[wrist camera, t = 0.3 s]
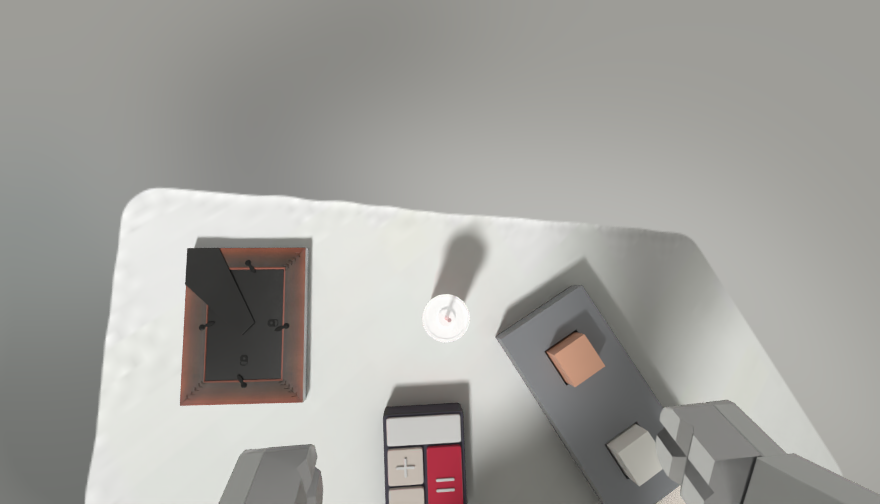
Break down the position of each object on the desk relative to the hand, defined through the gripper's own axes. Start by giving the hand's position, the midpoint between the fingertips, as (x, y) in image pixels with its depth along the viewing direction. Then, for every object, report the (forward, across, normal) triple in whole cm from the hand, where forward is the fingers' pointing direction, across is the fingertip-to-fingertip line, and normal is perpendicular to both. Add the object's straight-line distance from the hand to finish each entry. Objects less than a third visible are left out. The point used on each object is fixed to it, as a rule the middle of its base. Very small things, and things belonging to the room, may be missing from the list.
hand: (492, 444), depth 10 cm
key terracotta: (+42, +19, -30) cm, 54 cm away
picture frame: (+48, -26, -24) cm, 60 cm away
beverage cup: (+48, +2, -24) cm, 54 cm away
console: (+41, +22, -37) cm, 60 cm away
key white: (+36, +26, -41) cm, 60 cm away
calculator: (+39, -3, -42) cm, 57 cm away
